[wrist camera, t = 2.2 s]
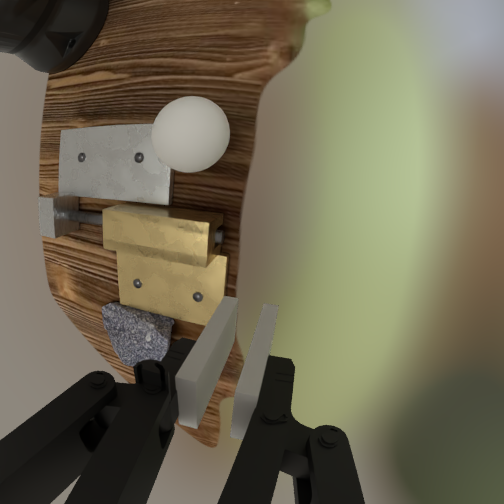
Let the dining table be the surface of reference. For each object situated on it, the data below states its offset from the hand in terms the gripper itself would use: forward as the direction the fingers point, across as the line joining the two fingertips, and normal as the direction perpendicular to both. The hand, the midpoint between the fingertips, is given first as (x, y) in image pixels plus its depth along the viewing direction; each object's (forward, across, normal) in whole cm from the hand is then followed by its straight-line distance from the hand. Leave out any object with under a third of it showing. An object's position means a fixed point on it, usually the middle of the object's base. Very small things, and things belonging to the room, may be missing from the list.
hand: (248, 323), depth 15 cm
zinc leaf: (+16, -18, +5) cm, 24 cm away
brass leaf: (+16, -12, -4) cm, 21 cm away
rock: (+17, -17, -16) cm, 29 cm away
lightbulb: (+17, -7, +10) cm, 21 cm away
